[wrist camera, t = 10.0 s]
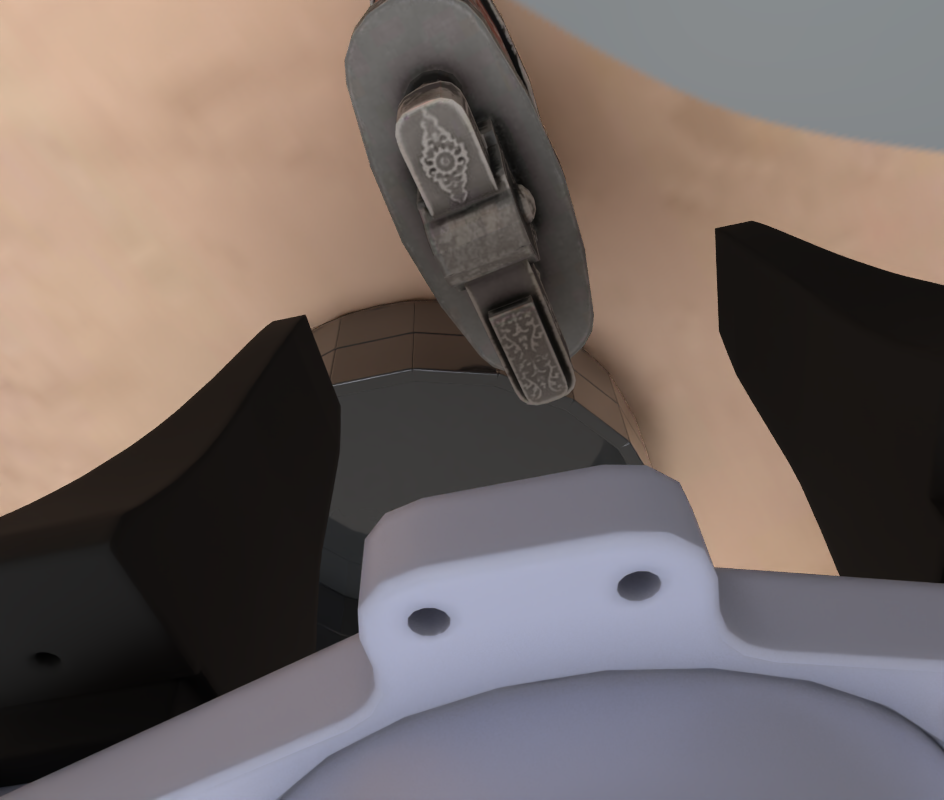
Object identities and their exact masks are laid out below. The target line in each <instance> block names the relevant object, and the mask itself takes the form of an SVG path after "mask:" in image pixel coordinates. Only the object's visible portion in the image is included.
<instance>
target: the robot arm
mask: <svg viewBox="0 0 944 800" xmlns="http://www.w3.org/2000/svg"><path fill="white" fill-rule="evenodd" d="M715 240H716V266H717V291H718V316H719V332H720V335H721V337H722V340H723V343H724V345H725V348H726V350H727V353H728V356H729V358H730V360H731V363H732V365H733V368H734V370H735V372H736V375H737V377H738V378H739V380H740V382H741V384H742V385H743V387H744V389H745V390H746V392H747V394H748V395H749V397H750V399H751V401H752V402H753V404H754V406H755V407H756V409H757V411H758V412H759V414H760V416H761V417H762V419H763V421H764V422H765V424H766V425H767V427H768V429H769V430H770V432H771V434H772V435H773V437H774V439H775V440H776V442H777V444H778V445H779V447H780V449H781V450H782V452H783V454H784V455H785V457H786V459H787V460H788V462H789V464H790V465H791V467H792V469H793V471H794V473H795V475H796V477H797V479H798V480H799V482H800V484H801V486H802V489H803V491H804V493H805V495H806V498H807V500H808V502H809V504H810V507H811V509H812V511H813V514H814V516H815V518H816V520H817V523H818V525H819V527H820V529H821V532H822V534H823V537H824V539H825V541H826V544H827V546H828V549H829V551H830V554H831V556H832V558H833V561H834V563H835V566H836V568H837V570H838V573H839V575H840V576H830V575H816V574H802V573H788V572H774V571H760V570H746V569H732V568H717V567H714V566H713V563H712V560H711V558H710V555H709V552H708V550H707V547H706V544H705V542H704V539H703V536H702V534H701V531H700V528H699V526H698V523H697V520H696V518H695V515H694V512H693V510H692V508H691V505H690V503H689V501H688V499H687V497H686V495H685V493H684V491H683V489H682V487H681V485H680V483H679V482H678V481H676V480H674V479H672V478H670V477H668V476H666V475H664V474H662V473H660V472H658V471H657V470H655V469H653V468H651V467H649V466H647V465H598V466H593V467H587V468H582V469H576V470H571V471H566V472H560V473H555V474H549V475H544V476H539V477H533V478H528V479H522V480H517V481H512V482H506V483H501V484H495V485H490V486H485V487H479V488H474V489H468V490H463V491H458V492H452V493H447V494H441V495H436V496H431V497H425V498H421V499H419V500H416V501H414V502H411V503H409V504H407V505H404V506H402V507H399V508H397V509H394V510H392V511H390V512H387V513H385V514H384V515H383V517H382V518H381V519H380V521H379V522H378V523H377V524H376V526H375V527H374V528H373V529H372V531H371V532H370V533H369V535H368V536H367V537H366V538H365V542H364V552H363V562H362V572H361V582H360V592H359V602H358V625H359V633H357V634H355V635H353V636H351V637H348V638H346V639H344V640H342V641H340V642H337V643H335V644H333V645H331V646H329V647H326V648H324V649H322V650H320V651H318V652H316V640H317V611H318V594H319V576H320V565H321V557H322V550H323V544H324V538H325V533H326V527H327V522H328V517H329V511H330V506H331V500H332V495H333V489H334V484H335V478H336V472H337V466H338V460H339V454H340V436H341V405H340V403H339V400H338V398H337V395H336V393H335V390H334V387H333V385H332V382H331V380H330V377H329V374H328V372H327V369H326V367H325V364H324V362H323V359H322V356H321V354H320V351H319V349H318V346H317V343H316V341H315V338H314V336H313V333H312V330H311V328H310V325H309V323H308V320H307V318H306V315H301V316H297V317H292V318H287V319H282V320H278V321H273V322H271V323H270V324H269V325H267V326H266V327H265V328H264V329H263V330H261V331H260V332H259V333H258V334H257V335H256V336H255V337H254V338H253V339H252V340H251V341H250V342H249V343H248V344H247V345H246V346H245V347H244V348H243V349H242V350H241V351H240V352H239V353H238V354H237V355H236V356H235V357H234V358H233V359H232V360H231V361H230V362H229V363H228V364H227V365H226V366H225V367H224V368H223V369H222V370H221V371H220V372H219V373H218V374H217V375H216V376H215V377H214V378H213V379H212V380H211V381H209V382H208V383H207V384H206V385H205V386H204V387H203V388H202V389H201V390H199V391H198V392H197V393H196V394H195V395H194V396H193V397H192V398H191V399H190V400H188V401H187V402H186V403H185V404H184V405H183V406H182V407H181V408H180V409H178V410H177V411H176V412H175V413H174V414H173V415H171V416H170V417H169V418H168V419H166V420H165V421H164V422H163V423H161V424H160V425H159V426H158V427H156V428H155V429H153V430H152V431H151V432H149V433H148V434H147V435H145V436H144V437H143V438H141V439H140V440H139V441H137V442H136V443H134V444H133V445H131V446H130V447H129V448H127V449H126V450H124V451H122V452H121V453H119V454H118V455H116V456H114V457H113V458H111V459H110V460H108V461H106V462H105V463H103V464H102V465H100V466H98V467H97V468H95V469H94V470H92V471H90V472H89V473H87V474H86V475H84V476H82V477H80V478H79V479H77V480H75V481H73V482H71V483H69V484H68V485H66V486H64V487H62V488H60V489H58V490H56V491H54V492H52V493H50V494H48V495H46V496H44V497H42V498H40V499H38V500H36V501H34V502H32V503H30V504H28V505H26V506H24V507H22V508H20V509H18V510H15V511H13V512H11V513H8V514H6V515H4V516H1V517H0V800H944V285H940V284H936V283H932V282H927V281H923V280H919V279H915V278H910V277H906V276H903V275H899V274H895V273H892V272H888V271H885V270H882V269H879V268H876V267H873V266H870V265H867V264H864V263H861V262H858V261H855V260H852V259H849V258H846V257H844V256H841V255H838V254H836V253H833V252H831V251H828V250H825V249H823V248H820V247H818V246H815V245H813V244H811V243H808V242H806V241H803V240H801V239H799V238H796V237H794V236H791V235H789V234H787V233H784V232H782V231H779V230H777V229H774V228H772V227H769V226H767V225H764V224H761V223H758V222H754V221H748V222H744V223H739V224H734V225H729V226H725V227H720V228H715Z"/></svg>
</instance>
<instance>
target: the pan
mask: <svg viewBox="0 0 944 800" xmlns="http://www.w3.org/2000/svg"><path fill="white" fill-rule="evenodd" d="M312 333H313V336H314V338H315V341H316V343H317V346H318V349H319V351H320V354H321V356H322V359H323V362H324V364H325V367H326V369H327V372H328V374H329V377H330V380H331V382H332V385H333V387H334V390H335V393H336V395H337V398H338V400H339V403H340V405H341V436H340V454H339V460H338V466H337V472H336V478H335V484H334V489H333V495H332V500H331V506H330V511H329V517H328V522H327V527H326V533H325V538H324V544H323V550H322V557H321V565H320V576H319V594H318V611H317V640H316V652H318V651H320V650H322V649H324V648H326V647H329V646H331V645H333V644H335V643H337V642H340V641H342V640H344V639H346V638H348V637H351V636H353V635H355V634H357V633H359V625H358V602H359V592H360V582H361V572H362V562H363V552H364V542H365V538H366V537H367V536H368V535H369V533H370V532H371V531H372V529H373V528H374V527H375V526H376V524H377V523H378V522H379V521H380V519H381V518H382V517H383V515H384V514H385V513H387V512H390V511H392V510H394V509H397V508H399V507H402V506H404V505H407V504H409V503H411V502H414V501H416V500H419V499H421V498H425V497H431V496H436V495H441V494H447V493H452V492H458V491H463V490H468V489H474V488H479V487H485V486H490V485H495V484H501V483H506V482H512V481H517V480H522V479H528V478H533V477H539V476H544V475H549V474H555V473H560V472H566V471H571V470H576V469H582V468H587V467H593V466H598V465H647V466H649V467H651V468H652V465H651V462H650V459H649V456H648V453H647V450H646V447H645V445H644V442H643V439H642V436H641V433H640V430H639V427H638V424H637V421H636V418H635V417H634V415H633V413H632V411H631V410H630V408H629V406H628V405H627V403H626V400H625V398H624V397H623V395H622V394H621V392H620V390H619V389H618V387H617V385H616V384H615V382H614V380H613V379H612V377H611V376H610V374H609V372H607V370H606V369H604V368H603V367H602V366H601V365H600V364H599V363H598V362H597V361H596V360H595V359H594V358H593V357H592V356H590V355H589V354H588V353H587V352H586V351H585V350H584V349H582V348H581V349H580V350H579V351H578V352H577V353H576V354H575V355H574V356H573V357H571V362H572V366H573V370H574V375H575V379H576V382H575V386H574V389H573V390H572V391H571V392H570V393H569V394H568V395H566V396H564V397H562V398H560V399H557V400H555V401H552V402H549V403H545V404H541V405H529V404H527V403H525V402H523V401H522V400H520V398H519V397H518V395H517V394H516V392H515V390H514V388H513V386H512V384H511V382H510V380H509V378H508V376H507V374H506V372H505V371H504V370H501V369H498V368H495V367H493V366H492V365H490V364H489V363H488V362H487V361H485V360H484V359H483V358H482V357H481V356H480V355H479V354H478V352H477V351H476V350H475V349H474V347H473V346H472V345H471V344H470V342H469V341H468V340H467V339H466V337H465V336H464V335H463V334H462V332H461V331H460V330H459V328H458V327H457V326H456V325H455V323H454V322H453V321H452V320H451V318H450V317H449V316H448V315H447V313H446V312H445V311H444V310H443V308H442V307H441V306H440V304H439V302H438V301H437V300H421V301H405V302H399V303H392V304H385V305H379V306H375V307H371V308H368V309H364V310H361V311H357V312H353V313H350V314H347V315H345V316H342V317H340V318H337V319H335V320H333V321H330V322H328V323H325V324H323V325H321V326H319V327H317V328H316V329H314V330H312Z"/></svg>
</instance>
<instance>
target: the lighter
mask: <svg viewBox="0 0 944 800" xmlns="http://www.w3.org/2000/svg"><path fill="white" fill-rule="evenodd" d="M345 72H346V83H347V87H348V91H349V94H350V98H351V101H352V105H353V108H354V112H355V115H356V118H357V122H358V125H359V129H360V132H361V136H362V139H363V143H364V146H365V150H366V153H367V156H368V160H369V163H370V167H371V169H372V172H373V174H374V177H375V179H376V181H377V184H378V186H379V188H380V191H381V193H382V196H383V198H384V200H385V203H386V205H387V207H388V210H389V212H390V214H391V217H392V219H393V222H394V224H395V226H396V229H397V231H398V233H399V236H400V238H401V241H402V243H403V245H404V246H405V248H406V250H407V251H408V253H409V254H410V256H411V258H412V259H413V261H414V263H415V264H416V266H417V268H418V269H419V271H420V273H421V274H422V276H423V278H424V279H425V281H426V283H427V284H428V286H429V287H430V289H431V291H432V292H433V294H434V296H435V297H436V299H437V301H438V302H439V304H440V306H441V307H442V308H443V310H444V311H445V312H446V313H447V315H448V316H449V317H450V318H451V320H452V321H453V322H454V323H455V325H456V326H457V327H458V328H459V330H460V331H461V332H462V334H463V335H464V336H465V337H466V339H467V340H468V341H469V342H470V344H471V345H472V346H473V347H474V349H475V350H476V351H477V352H478V354H479V355H480V356H481V357H482V358H483V359H484V360H485V361H487V362H488V363H489V364H490V365H492V366H493V367H495V368H498V369H501V370H504V371H505V372H506V374H507V376H508V378H509V380H510V382H511V384H512V386H513V388H514V390H515V392H516V394H517V395H518V397H519V398H520V400H522V401H523V402H525V403H527V404H529V405H541V404H545V403H549V402H552V401H555V400H557V399H560V398H562V397H564V396H566V395H568V394H569V393H570V392H571V391H572V390H573V389H574V386H575V382H576V379H575V375H574V370H573V366H572V362H571V357H573V356H574V355H575V354H576V353H577V352H578V351H579V350H580V349H581V348H582V347H583V346H584V345H585V343H586V341H587V339H588V337H589V335H590V334H591V332H592V327H593V318H594V313H593V305H592V298H591V291H590V284H589V276H588V269H587V262H586V254H585V249H584V245H583V241H582V238H581V234H580V230H579V227H578V223H577V220H576V216H575V212H574V209H573V205H572V202H571V198H570V194H569V191H568V187H567V184H566V180H565V176H564V174H563V171H562V168H561V165H560V163H559V161H558V158H557V156H556V154H555V152H554V149H553V147H552V145H551V143H550V140H549V138H548V136H547V134H546V132H545V129H544V127H543V125H542V123H541V119H540V115H539V112H538V108H537V105H536V101H535V98H534V94H533V91H532V87H531V84H530V81H529V78H528V76H527V73H526V71H525V69H524V66H523V64H522V62H521V60H520V57H519V55H518V53H517V51H516V48H515V46H514V44H513V42H512V39H511V37H510V35H509V33H508V30H507V28H506V26H505V24H504V21H503V19H502V17H501V15H500V13H499V12H498V10H497V8H496V7H495V5H494V3H493V1H492V0H370V7H369V9H368V10H367V11H366V13H365V14H364V16H363V17H362V18H361V20H360V21H359V22H358V24H357V25H356V27H355V29H354V31H353V34H352V37H351V40H350V44H349V47H348V51H347V54H346V58H345Z"/></svg>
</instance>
